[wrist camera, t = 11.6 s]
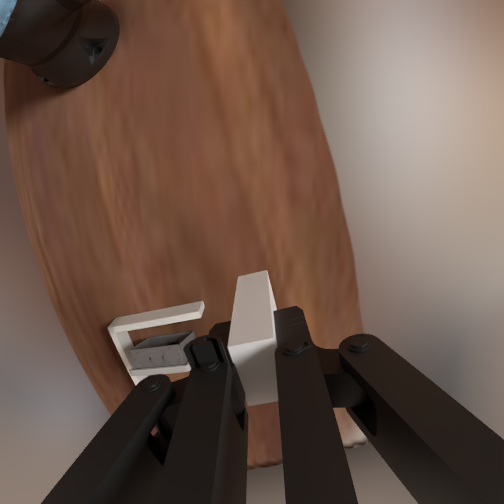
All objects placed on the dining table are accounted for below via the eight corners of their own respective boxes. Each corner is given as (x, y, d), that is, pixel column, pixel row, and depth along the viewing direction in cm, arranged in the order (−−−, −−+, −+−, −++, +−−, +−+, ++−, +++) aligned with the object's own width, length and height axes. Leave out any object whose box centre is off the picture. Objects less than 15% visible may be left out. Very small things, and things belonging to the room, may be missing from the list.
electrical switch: (152, 356, 48) (133, 386, 39) (142, 328, 47) (120, 355, 38) (206, 350, 47) (194, 381, 38) (197, 320, 47) (183, 348, 37)
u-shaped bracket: (115, 317, 46) (107, 327, 43) (202, 300, 45) (198, 311, 42) (152, 394, 50) (147, 406, 47) (232, 384, 49) (230, 397, 46)
